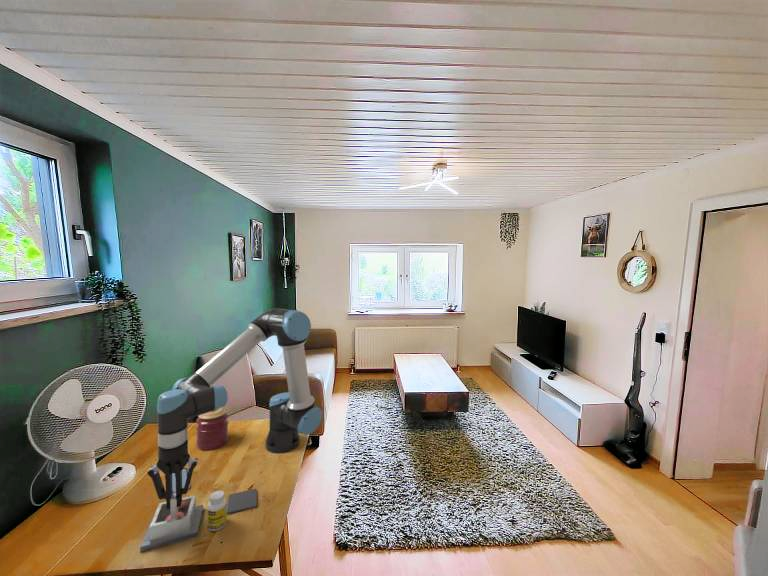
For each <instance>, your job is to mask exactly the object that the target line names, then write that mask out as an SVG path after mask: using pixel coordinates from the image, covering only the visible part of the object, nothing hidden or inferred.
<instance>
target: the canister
mask: <svg viewBox="0 0 768 576" xmlns="http://www.w3.org/2000/svg"><path fill="white" fill-rule="evenodd" d="M228 417H229V413H227V409H226V408H224V407H221V408H219V409H217V410H215V411H211V412H208V413H205V414H202V415H199V416H197V418H196V419H195V422H196V424H197V426H196V428H195V429H196V441H195V442H196V447H197V449H199V450H201V451H211V450H216V449H219V448H220V447H222V446H224V445H225V444H226V443H227V442H228V440H229V420H228Z"/></svg>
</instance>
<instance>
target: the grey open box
mask: <svg viewBox="0 0 768 576" xmlns="http://www.w3.org/2000/svg"><path fill="white" fill-rule="evenodd" d="M178 512H182V513H184V517H180V518H175V519H171V520H167V521H165V519H166V518H167V517H168V516H169V515H171V509H167V508H166V501H162V502H159V503H158V505H157V508H156V511H155V513H154V515H153V516H152V517H151V520H150V523H149V525H148V527H147V529H146V532H145V534H144V537H143V539H142V542H141V544H140V547H139V552H140V553H142V552H145V551H150V550H154V549H157V548H161V547H165V546H169V545H173V544H176V543H180V542H183V541H188V540H192V539H195V538H198V535H199V531H200V526H201V521H202V517H203V512H204V504H200V505H197V497H196V494H194V495H189V496H186V497H182V503H181V506H179V507H178Z"/></svg>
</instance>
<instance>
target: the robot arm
mask: <svg viewBox="0 0 768 576" xmlns="http://www.w3.org/2000/svg"><path fill="white" fill-rule="evenodd" d="M311 329H312V323H311V319H310V318H309V315H307V314H306V313H304V312H303V311H300V310H296V309H288V308H287V309H286V308H280V307H277V308H276V307H275V308H272V309H269V310H267V311H265V312H263V313H261V314H260V315H259V316H257V317H256V318H254V319H253V320H252V321H251V322H249V324H247V329H245V330H244V331H243V332H241V334H240V335H238V336H237V337H236V338H235V339H233V340H232V341H231V342H229V344H227V345H226V346H225V347H224V348H223V349H221V350H220V351H219V352H218V353H217V354H215V355H214V356H213V357H212V358H211V359H210V360H208V361H207V362H206V363H205V364H204V365H203V366H201V367H200V368H199V369H197V371H195V372H194V373H193V374H191V375H190V376H189V377H184V378H180V379H177V381H176V382H174V384H173V386H172V389H171V390H167V391H165V392H162V393H161V394H160V395H159V396H158V398H157V404H156V417H157V453H158V454H157V455H158V456H157V457H158V460H157V462H156V464H155V465H154V466H153V465H152V466H150V468H149V469H148V471H147V475H148V476H149V477H150V479H151V481H152V483H153V486H154V490H155V492H156V495H157V497H158V500H163V499H164V500H166V501H165V502H166V508H167V509H171V519H175V518H177V516H178V507H179V506H181V503H182V498H183V495H187V494H188V492H189V489H188V488H189V485H190V486H191V481H192V478H193V477H192V476H193V472H194V470H195V468H196V466H197V464H198V461H199V458H196V457H195V458H191V455H190V454H189V441H188V438H189V432H188V430H189V429H188V425H189V424H188V422H189V421H188V420H190V419H193V418H195V417H198V416H199V415H202V414H205V413H208V412H211V411H215V410H217V409H219V408H221V407H222V408H224V407H225V406H226V405H227V403H228V398H229V397H228V392H227V389H226V387H225V386H224V385H221V384H219V385H215V383H217V381H219V380H220V378H222V377H223V376H224V375H225V374H226V373H227V372H228V371H230V370H231V369H232V368H233V367H234V366H235V365H236V364H237V363H238V362H240V361H241V360H242V359H243V358H244V357H245V356H246V355H247V354H249V353H250V352H251V351H252V350H253V349H254V348H256V346H258V345H259V344H260V343H261V342H265V341H266V340H268V339H269V338H271V337H276V339H277V345H278V347H280V348H282V352H283V353H282V354H283V359H284V360H283V361H284V367H285V368H284V369H285V375H286V381H287V388H288V391H287V392H280V393H277V394H275V395H272V396H271V398H270V399H269V405H268V407H269V430H268V433H267V436H266V439H265V445H264V447H265V450H267V451H268V452H270V453H277V454H280V453H281V452H283V453H287V452H290V451H292V450H291V449H293V450H294V449H296V448H297V447H298V446H299V445H300V442H301V441H300V439H301V437H300V435H301V434H302V435H306V436H307V435H311V434H313V433H314V432H315V431H316V430H317V429H318V427H319V425H320V424H321V422H322V418H323V414H322V413H323V412H322V410H321V408H319V407H318V406H316V400H315V397H314V396H313V395H311V389H310V382H309V375H308V369H307V368H308V367H307V365H308V364H307V359H306V358H307V357H306V351H305V343H306V342H307V341H308V337H309V335H310V332H311ZM298 444H299V445H298ZM295 447H296V448H295ZM289 450H290V451H289ZM286 451H287V452H286ZM281 454H282V453H281ZM187 464H188V465H187ZM186 466H188V475H187V478H186V482H185V486H184V488H182V469H183V468H186ZM159 471H161V472H162V473H163V474H164V478H165V479H164V480H165V486H164V482H163V480H162V477H161V475H160V472H159ZM172 473H175V477H176V493H175V494H172V493H173V491H172Z"/></svg>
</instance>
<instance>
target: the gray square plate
mask: <svg viewBox="0 0 768 576" xmlns="http://www.w3.org/2000/svg"><path fill="white" fill-rule="evenodd" d="M254 507H255V508H257V488H252V489H247V490H243V491H239V492H235V493H229V494H228V500H227V515H230V514H234V513H239V512H243V511H246V510H250V509H254Z"/></svg>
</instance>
